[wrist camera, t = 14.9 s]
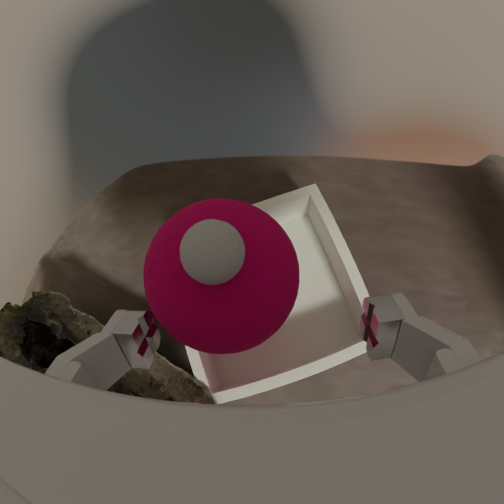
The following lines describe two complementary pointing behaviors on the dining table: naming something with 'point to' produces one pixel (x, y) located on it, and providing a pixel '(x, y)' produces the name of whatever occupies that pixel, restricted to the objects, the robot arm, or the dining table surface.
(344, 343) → the tray
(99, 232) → the dining table surface
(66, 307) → the hollow geode rock
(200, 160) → the dining table surface
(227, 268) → the pepper mill
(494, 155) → the dining table surface
